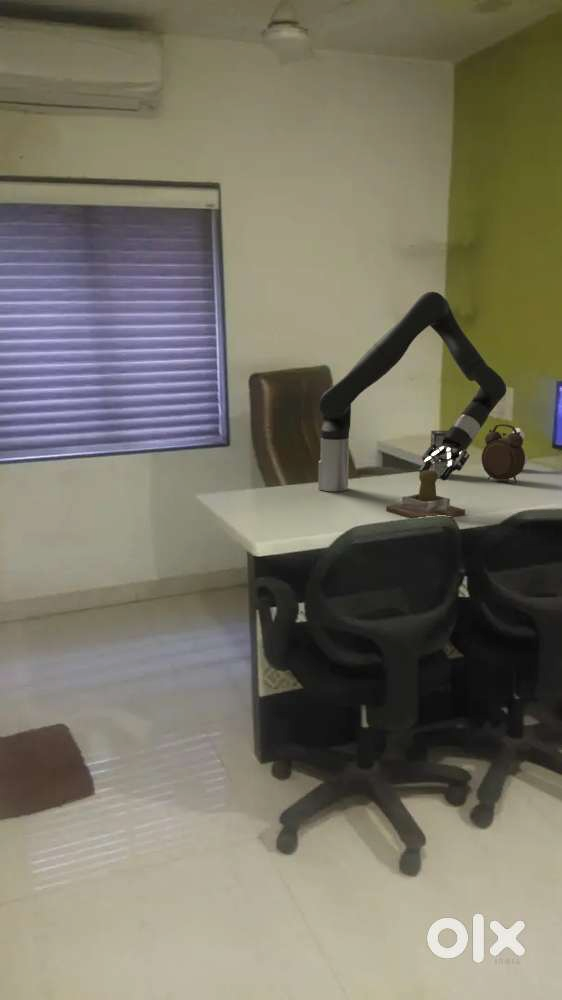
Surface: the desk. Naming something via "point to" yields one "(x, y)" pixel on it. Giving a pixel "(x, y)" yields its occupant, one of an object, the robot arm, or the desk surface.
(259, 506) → the desk surface
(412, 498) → the mount board
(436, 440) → the coffee box
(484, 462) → the alarm clock
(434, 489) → the cork
